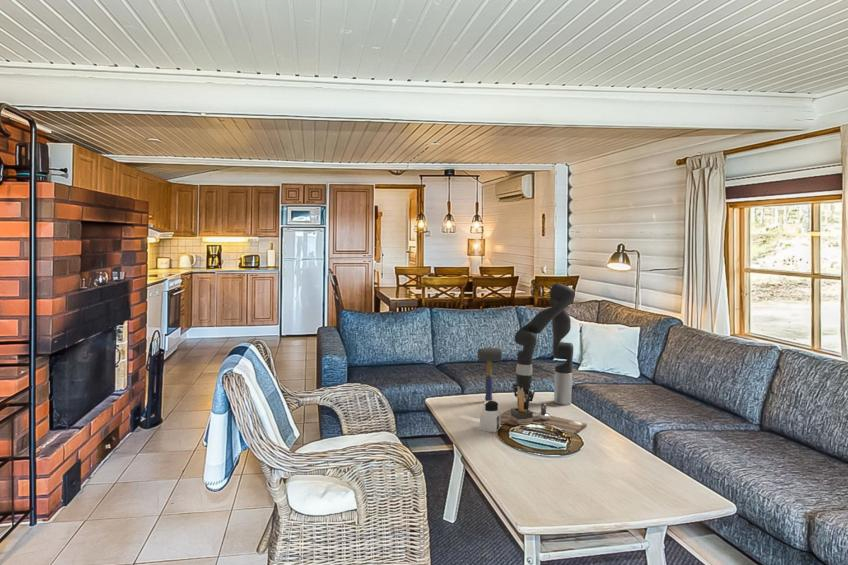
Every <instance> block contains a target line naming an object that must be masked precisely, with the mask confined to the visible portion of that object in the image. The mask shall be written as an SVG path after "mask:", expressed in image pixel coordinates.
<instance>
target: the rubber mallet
mask: <svg viewBox="0 0 848 565" xmlns="http://www.w3.org/2000/svg"><path fill="white" fill-rule="evenodd" d="M502 357H503V353H502V348H500V347H482V348H478V350H477V360H478V361H479V362H486V376H485V398H484V400H485V401H493V375H492V366H493V365H492V364H493V362H500V361H501V360H502V359H503V358H502Z"/></svg>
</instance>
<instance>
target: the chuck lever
mask: <svg viewBox="0 0 848 565" xmlns="http://www.w3.org/2000/svg"><path fill="white" fill-rule="evenodd" d="M510 409H511V420H513V421H514V422H516V423H517V424H521V423H532V421H535V420H549V419H550V416H551V414H550V413H548V412H547V403H545V402H542V403H541V404H540V412H536V413H537V414H533V412H534V411H532V410H530V409H529V408H528V409H527V412H518V407H511V408H510Z"/></svg>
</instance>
